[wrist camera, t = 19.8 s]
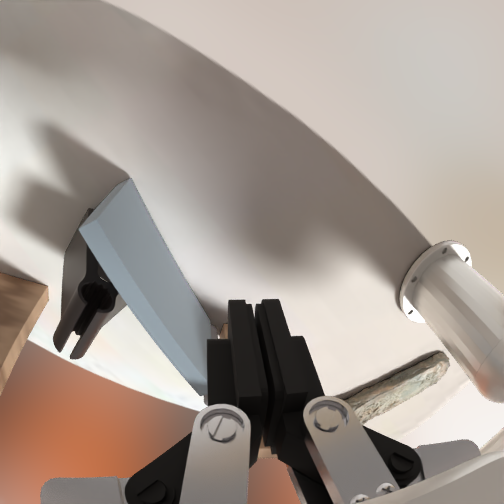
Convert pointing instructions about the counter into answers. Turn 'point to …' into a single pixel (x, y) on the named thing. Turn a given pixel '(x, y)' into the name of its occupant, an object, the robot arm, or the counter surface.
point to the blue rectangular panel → (150, 281)
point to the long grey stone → (398, 388)
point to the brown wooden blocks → (24, 318)
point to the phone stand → (84, 296)
